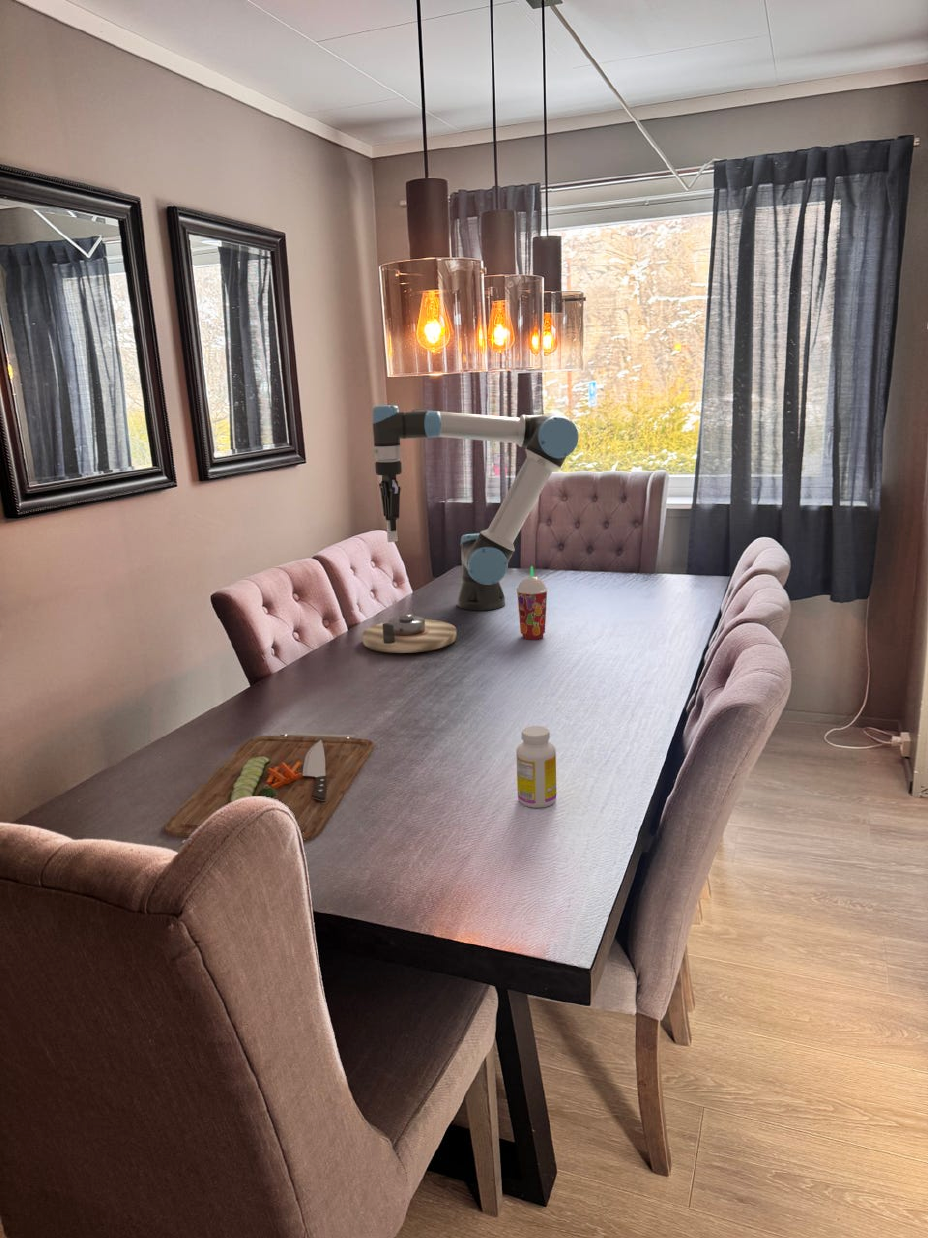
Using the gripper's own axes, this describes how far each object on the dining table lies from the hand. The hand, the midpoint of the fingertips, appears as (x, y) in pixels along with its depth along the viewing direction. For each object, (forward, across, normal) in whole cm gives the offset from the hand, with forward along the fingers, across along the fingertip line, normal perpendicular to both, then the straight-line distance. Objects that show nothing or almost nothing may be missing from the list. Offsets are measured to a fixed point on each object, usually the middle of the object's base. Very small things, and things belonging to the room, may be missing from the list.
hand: (392, 541), depth 262 cm
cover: (+21, +22, -4) cm, 31 cm away
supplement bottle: (+25, +123, -16) cm, 126 cm away
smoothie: (+25, +35, +28) cm, 51 cm away
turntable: (+23, +23, -4) cm, 33 cm away
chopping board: (+25, +96, -55) cm, 114 cm away
